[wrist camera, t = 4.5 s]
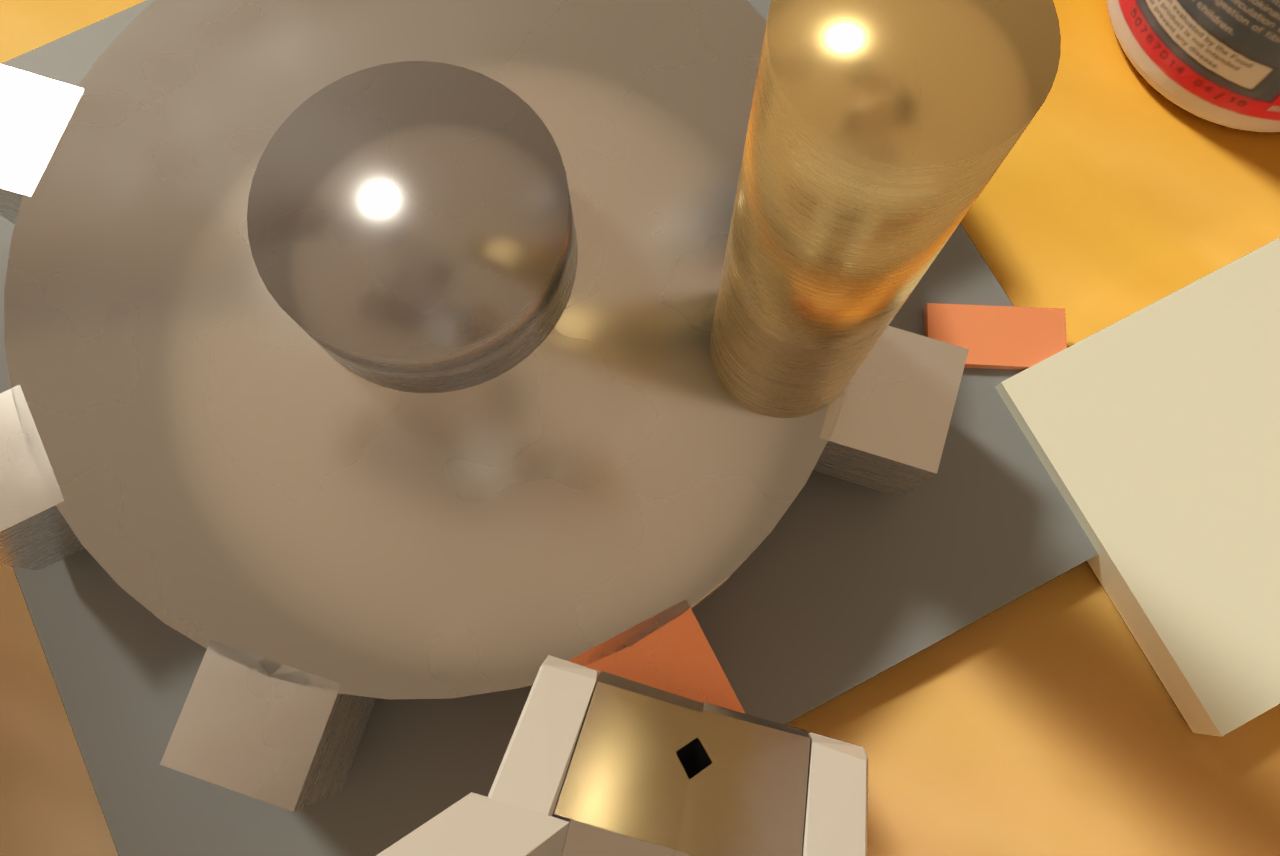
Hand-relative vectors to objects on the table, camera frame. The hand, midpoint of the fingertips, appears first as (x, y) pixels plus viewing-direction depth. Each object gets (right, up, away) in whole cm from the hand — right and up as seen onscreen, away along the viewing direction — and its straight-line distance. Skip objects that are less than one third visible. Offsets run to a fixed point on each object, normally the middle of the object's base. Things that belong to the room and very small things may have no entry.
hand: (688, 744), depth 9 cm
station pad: (+9, +2, +7) cm, 12 cm away
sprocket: (-3, +5, +8) cm, 10 cm away
